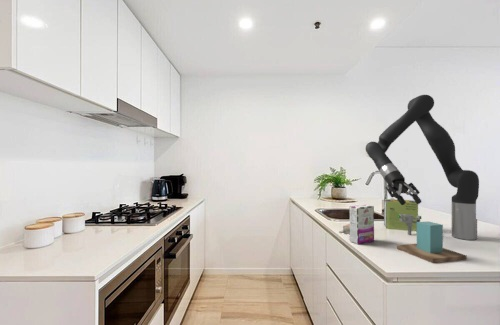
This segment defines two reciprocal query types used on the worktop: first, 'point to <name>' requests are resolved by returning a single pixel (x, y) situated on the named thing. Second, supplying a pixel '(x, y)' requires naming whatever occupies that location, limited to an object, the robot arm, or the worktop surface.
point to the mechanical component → (409, 220)
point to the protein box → (395, 208)
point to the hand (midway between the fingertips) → (412, 203)
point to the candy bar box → (361, 224)
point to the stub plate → (432, 254)
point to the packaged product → (346, 229)
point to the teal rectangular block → (430, 237)
